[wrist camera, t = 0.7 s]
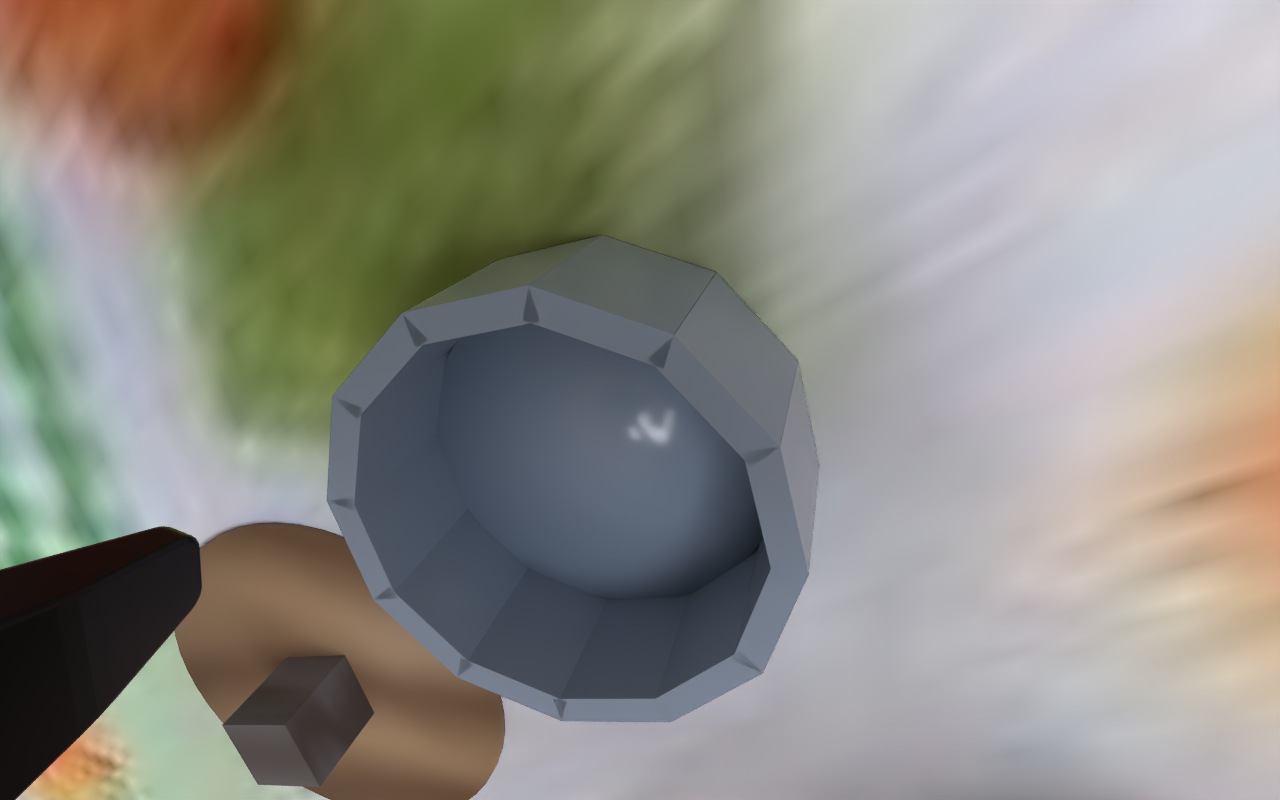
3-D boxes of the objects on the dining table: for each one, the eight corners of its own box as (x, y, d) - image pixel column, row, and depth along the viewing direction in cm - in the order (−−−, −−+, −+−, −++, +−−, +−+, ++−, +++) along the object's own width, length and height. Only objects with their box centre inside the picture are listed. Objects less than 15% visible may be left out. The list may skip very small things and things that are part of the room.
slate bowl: (845, 593, 22) (841, 723, 18) (501, 610, 26) (430, 719, 22) (764, 196, 18) (733, 239, 14) (372, 289, 22) (253, 345, 18)
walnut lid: (556, 806, 31) (515, 911, 27) (281, 794, 36) (214, 880, 32) (427, 498, 26) (353, 574, 22) (128, 534, 31) (26, 600, 27)
